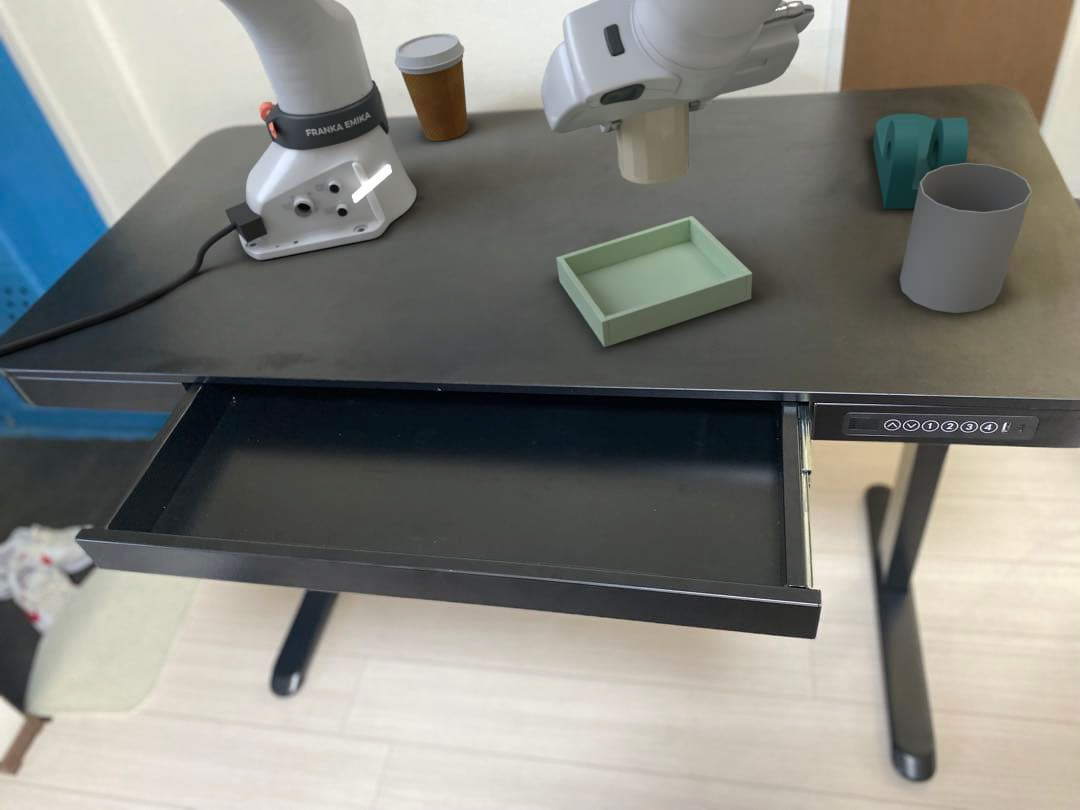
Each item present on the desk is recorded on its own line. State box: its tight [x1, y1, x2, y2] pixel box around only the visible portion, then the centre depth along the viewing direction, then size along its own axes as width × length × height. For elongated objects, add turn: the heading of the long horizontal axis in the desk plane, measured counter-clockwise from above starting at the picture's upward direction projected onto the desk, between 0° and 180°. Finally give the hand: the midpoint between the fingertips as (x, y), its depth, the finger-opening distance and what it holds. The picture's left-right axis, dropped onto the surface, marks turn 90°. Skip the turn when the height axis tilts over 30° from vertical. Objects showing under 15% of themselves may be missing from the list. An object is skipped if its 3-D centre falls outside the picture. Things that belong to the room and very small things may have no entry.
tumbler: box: [615, 102, 691, 185], centre depth 70 cm, size 6×6×9 cm
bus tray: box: [555, 215, 753, 348], centre depth 78 cm, size 15×12×3 cm
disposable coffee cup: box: [394, 33, 469, 142], centre depth 109 cm, size 10×10×12 cm
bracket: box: [872, 112, 969, 210], centre depth 86 cm, size 18×7×8 cm, turn 168°
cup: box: [899, 162, 1033, 314], centre depth 70 cm, size 8×8×10 cm
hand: (648, 113), depth 70 cm, fingers closed on tumbler, 6 cm apart
